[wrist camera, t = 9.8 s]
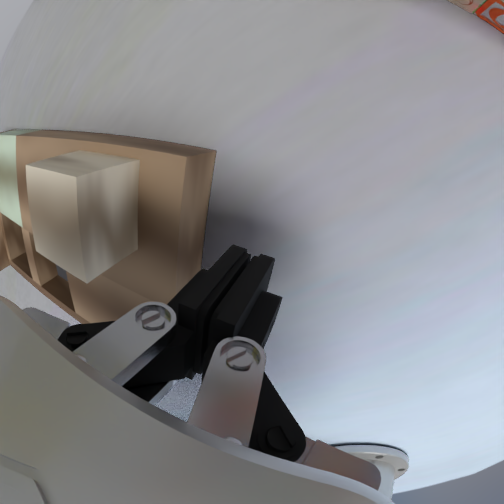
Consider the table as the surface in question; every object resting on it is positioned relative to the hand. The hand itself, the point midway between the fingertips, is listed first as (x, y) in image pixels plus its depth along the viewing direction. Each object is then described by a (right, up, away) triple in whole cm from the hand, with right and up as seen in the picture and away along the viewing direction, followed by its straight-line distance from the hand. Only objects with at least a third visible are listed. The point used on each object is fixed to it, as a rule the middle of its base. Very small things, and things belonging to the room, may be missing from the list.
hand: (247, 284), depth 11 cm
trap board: (-16, +4, +10) cm, 19 cm away
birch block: (-8, +4, +3) cm, 10 cm away
